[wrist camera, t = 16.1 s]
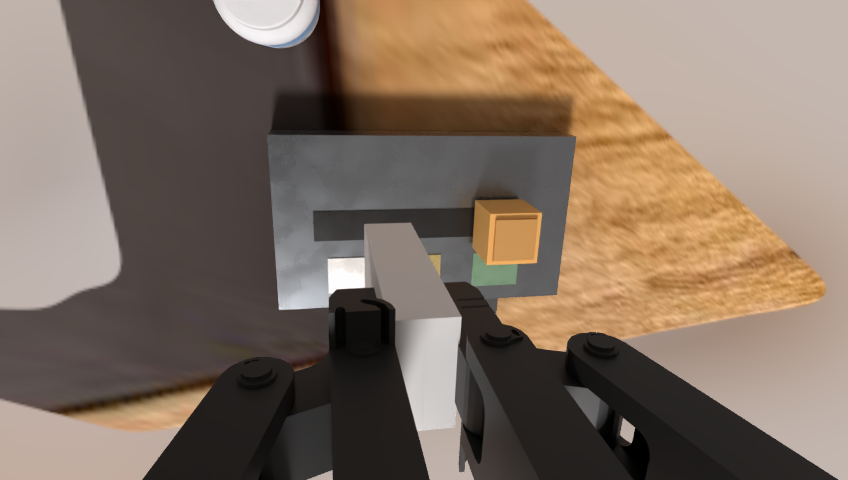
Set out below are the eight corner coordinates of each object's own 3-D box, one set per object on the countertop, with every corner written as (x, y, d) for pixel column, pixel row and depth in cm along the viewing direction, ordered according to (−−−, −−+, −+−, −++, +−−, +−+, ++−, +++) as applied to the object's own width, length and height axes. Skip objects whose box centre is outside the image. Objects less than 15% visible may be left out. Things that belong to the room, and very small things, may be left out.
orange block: (472, 247, 42) (487, 266, 38) (475, 200, 41) (491, 215, 37) (518, 245, 43) (538, 264, 39) (522, 199, 42) (543, 214, 38)
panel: (281, 294, 44) (279, 310, 41) (271, 129, 40) (266, 135, 37) (543, 281, 49) (557, 295, 46) (560, 131, 44) (576, 136, 41)
